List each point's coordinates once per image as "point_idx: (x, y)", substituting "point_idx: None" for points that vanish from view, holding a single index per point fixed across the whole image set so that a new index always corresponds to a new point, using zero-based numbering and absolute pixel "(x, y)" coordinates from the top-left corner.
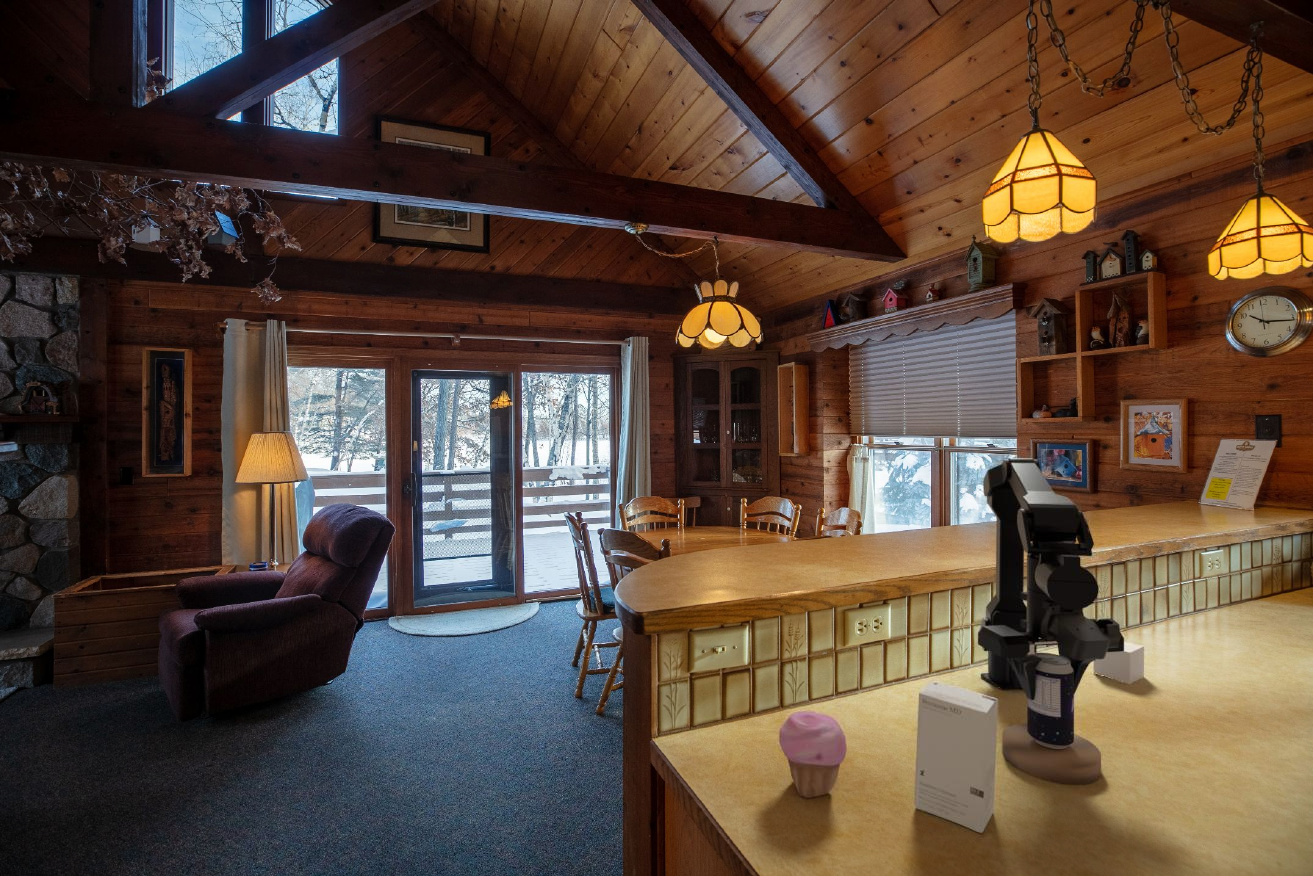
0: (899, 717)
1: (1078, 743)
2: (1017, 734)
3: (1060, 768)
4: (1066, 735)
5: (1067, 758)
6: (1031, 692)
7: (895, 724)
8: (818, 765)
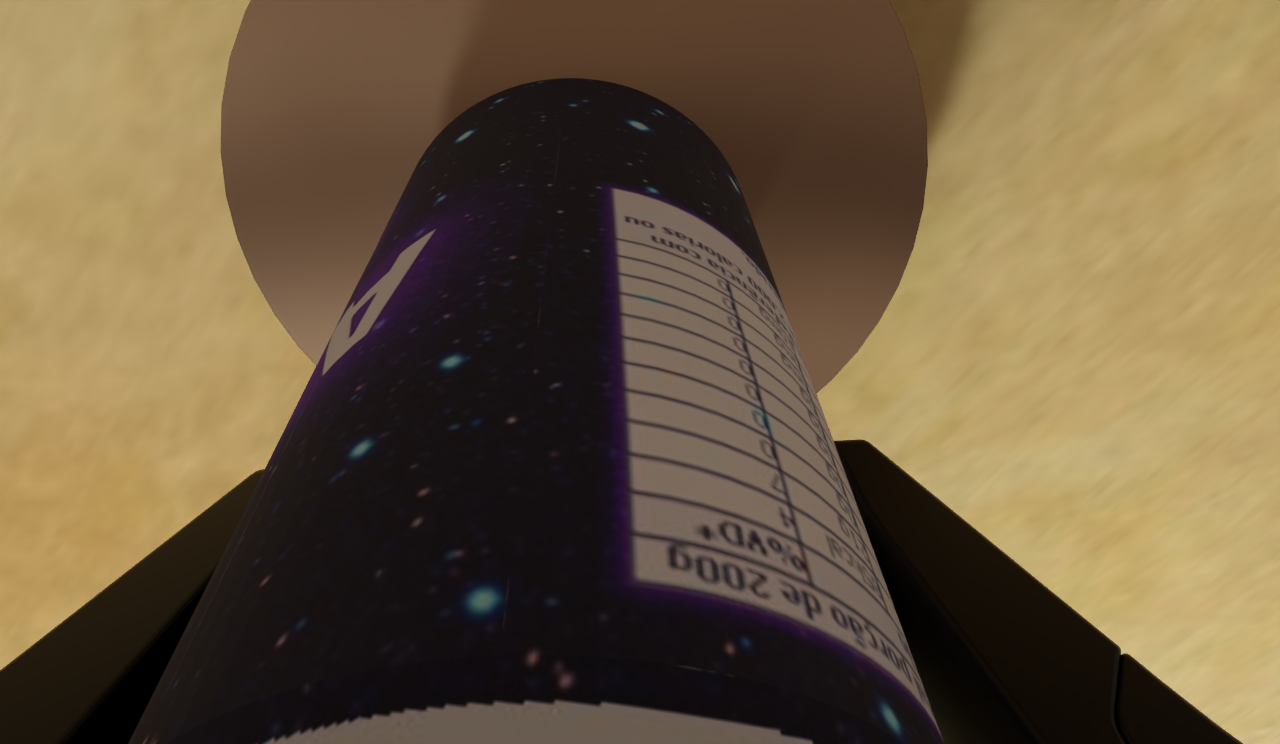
0: None
1: (346, 203)
2: None
3: None
4: (544, 108)
5: None
6: (926, 502)
7: (1165, 582)
8: None
